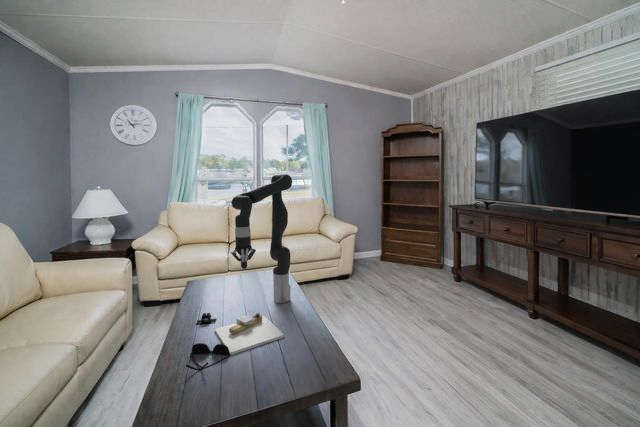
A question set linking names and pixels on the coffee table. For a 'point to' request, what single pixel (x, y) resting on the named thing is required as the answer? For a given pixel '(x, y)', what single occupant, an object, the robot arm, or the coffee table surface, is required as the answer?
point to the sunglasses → (204, 349)
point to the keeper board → (248, 334)
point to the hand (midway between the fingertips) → (244, 268)
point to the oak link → (241, 326)
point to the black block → (206, 319)
